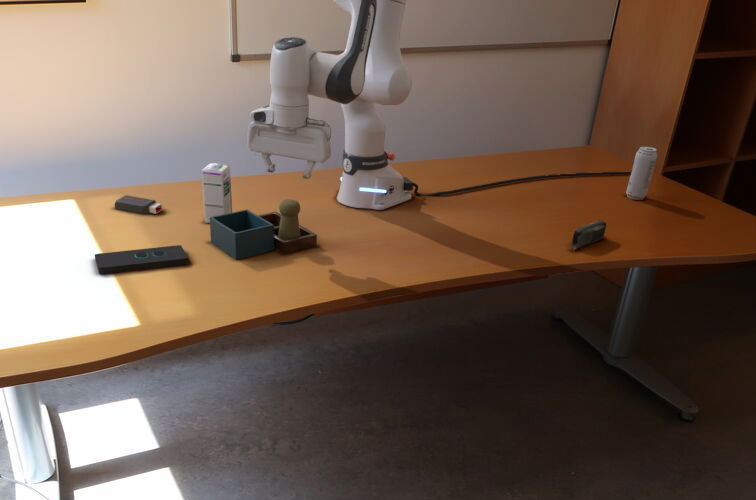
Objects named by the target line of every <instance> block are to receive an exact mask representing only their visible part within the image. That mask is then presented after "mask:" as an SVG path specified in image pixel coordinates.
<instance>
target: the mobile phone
mask: <svg viewBox="0 0 756 500" xmlns="http://www.w3.org/2000/svg"><path fill="white" fill-rule="evenodd" d="M606 228H607V222H606V221H604V220H598V221H595V222H592V223H589V224H585V225H580V226H578V227H577V229H576V230H575V231H574V232H573V234H572V240H571V244H572V246H573V247H572V251H575V250H578V249H579V248H582V247H584V246H588V245H590V244H593V243H595V242H598V241H600V240H602V239H603V238H604V236H605V232H606V230H607V229H606Z"/></svg>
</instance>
